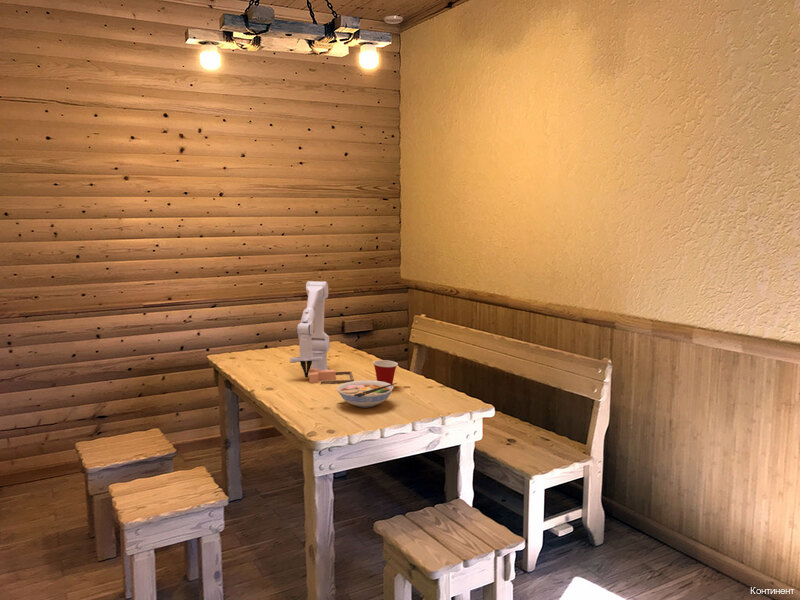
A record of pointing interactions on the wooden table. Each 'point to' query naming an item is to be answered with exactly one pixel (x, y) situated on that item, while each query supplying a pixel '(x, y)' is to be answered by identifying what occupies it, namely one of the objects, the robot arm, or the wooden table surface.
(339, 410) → the wooden table surface
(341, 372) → the frame
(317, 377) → the t block
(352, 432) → the wooden table surface
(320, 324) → the robot arm
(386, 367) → the plastic cup
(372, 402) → the ramen bowl
